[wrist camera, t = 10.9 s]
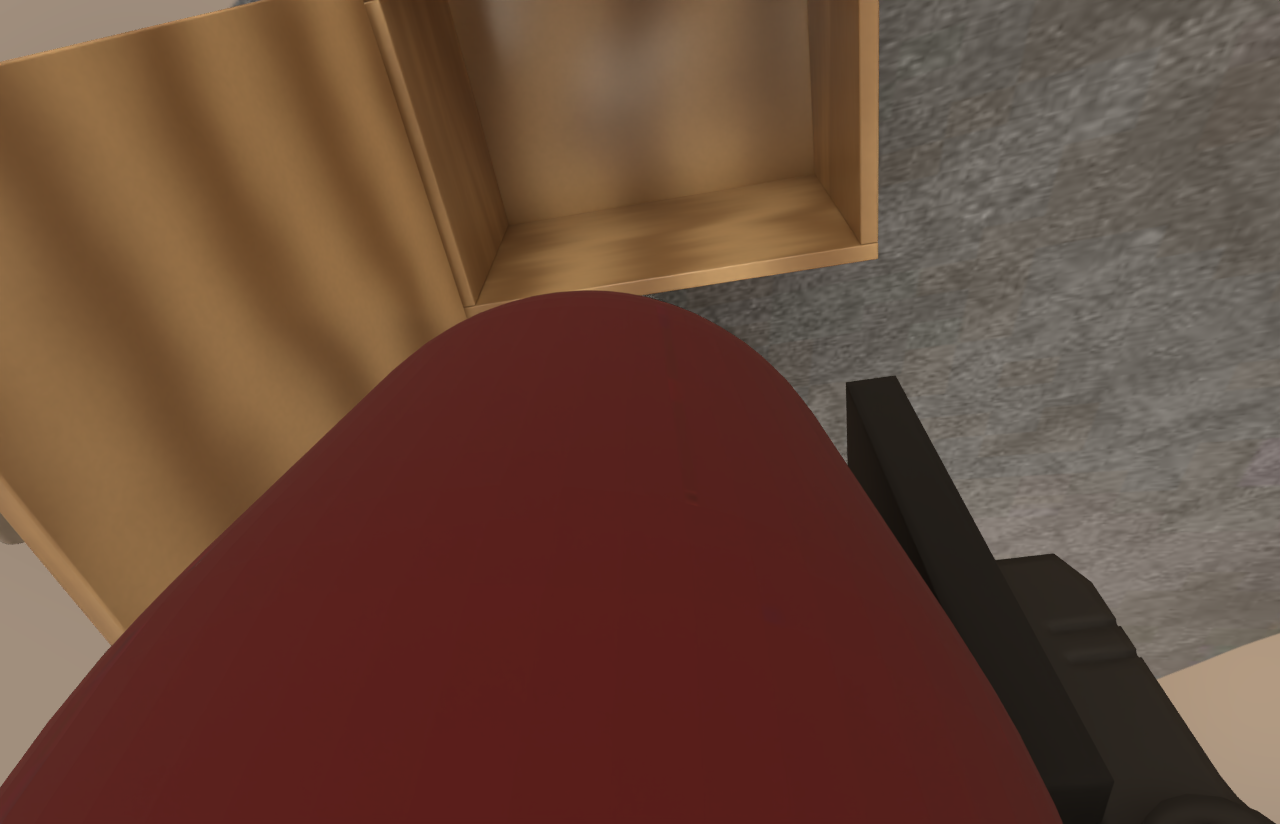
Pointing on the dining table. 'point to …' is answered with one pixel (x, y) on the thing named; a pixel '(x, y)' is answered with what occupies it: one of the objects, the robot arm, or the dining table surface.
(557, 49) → the chest
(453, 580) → the mug
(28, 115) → the lid
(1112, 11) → the dining table surface
